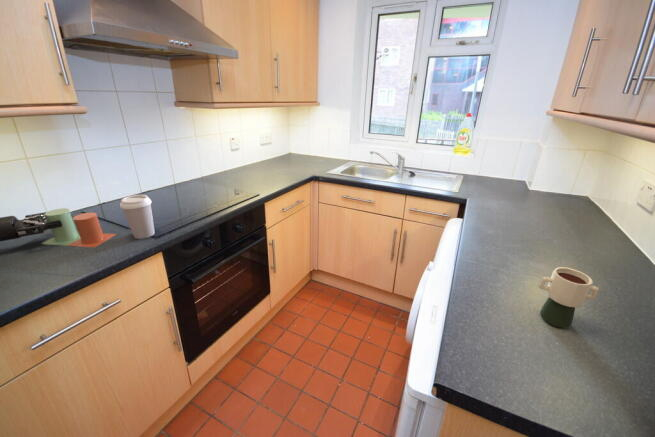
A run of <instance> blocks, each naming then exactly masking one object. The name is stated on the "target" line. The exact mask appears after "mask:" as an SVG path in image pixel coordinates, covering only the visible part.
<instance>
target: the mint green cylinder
mask: <svg viewBox="0 0 655 437" xmlns="http://www.w3.org/2000/svg"><path fill="white" fill-rule="evenodd" d="M45 212H46V213H45V217H46V219H47V222H52V221H58V220H60V221H61V223H62V227H58V228H52V229H50V231H51V234H52V236H53V237H54V239H55V241H56V242H65V241H69V240H72V239H75V238H77V237H78V233H77V232H78V231H77V228H76V225H75V222H74V220H73V216H72V213H71V211H70V209H69V208H66V207H64V208H55V209H51V210H49V211H45ZM45 217H44V218H45Z"/></svg>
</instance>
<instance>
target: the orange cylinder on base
mask: <svg viewBox="0 0 655 437" xmlns="http://www.w3.org/2000/svg"><path fill="white" fill-rule="evenodd" d="M72 219H73V222H74V225H75V227H76V230H77V232H78V233H79V236H80V239H81V242H82V243H83V244H91V243H95V242H98V241H101V240H102V239H104V235H103V233H104V232H103V229H102V226H101V223H100V220H99V217H98V213H96V212H84V213H79V214H77V215H74V217H72Z"/></svg>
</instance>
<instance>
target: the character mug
mask: <svg viewBox="0 0 655 437" xmlns="http://www.w3.org/2000/svg"><path fill="white" fill-rule="evenodd" d="M546 282H548V284H547V285H546ZM593 283H594V282H593V279H592V278H591V277H590V276H589V275H587V274H586V273H584V272H582V271H579V270H578V269H574V268H571V267H567V266H566V267H565V266H559V267H556V268H555V269H554V270H553V271H552V274H551V276H550V277H547V276H542V278H541V279H540V282H539V285H538V289H540V290H544V291H546V294H547V296H548V297H547V299H546V301H545V302H544V304H543V305H542V307H541V309H540V311H539V315H540V316H541V317H542V318H543V319H544V320H545V321H546V322H548V323H549V324H551V325H553V326H554V327H558V328H562V329H564V328H569V327H570V326H571V325H572V324H573V321H574V316H575V312H576V308H579V307H582V305H583V304H584V303H585V301H586V300H587V299H589V300H594V299H595V298H596V297H597V294H598V292H599V290H600V289H599V287H598V286H595V285H593ZM590 291H591V292H590ZM589 292H590V294H589Z"/></svg>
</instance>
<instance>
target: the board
mask: <svg viewBox="0 0 655 437" xmlns="http://www.w3.org/2000/svg"><path fill="white" fill-rule="evenodd" d="M77 233H78V231H77ZM103 235H104V239H102V240H101V241H98V242H95V243H91V244H83V243H82V242H81V239H80V236H79V233H78V237H77V238H75V239H72V240H69V241H65V242H56V241H55V239H54V236H53V237H51V238H49V239H47V240H45V241H42V242H41V243H40V244H41V245H52V246H66V247H67V246H68V247H81V248H82V247H83V248H97V247H98V246H100V245H101V244H103V243H104V242H106V241H108V240H111V238H113V237H114V236H116V235H117V233H105V232H103Z"/></svg>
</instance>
